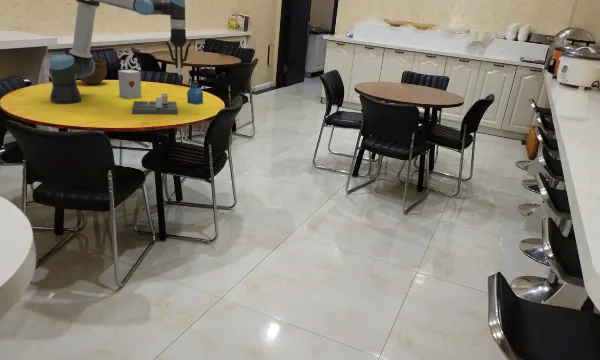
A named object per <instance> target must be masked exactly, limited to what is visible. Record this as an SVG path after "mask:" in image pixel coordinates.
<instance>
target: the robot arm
mask: <svg viewBox="0 0 600 360" xmlns="http://www.w3.org/2000/svg"><path fill="white" fill-rule="evenodd" d="M75 2H76V3H77V8H76V9H77V10H76V19H75V26H74V34H73V43H72V48H71V49H69V51H68V54H61V55H53V56H51V57H50V59H49V69H50V76H51V77H50V78H51V84H52V87H51V92H50V97H49V99H50V102H51V101H52V102H51V103H54V102H55V103H56V104H63V105H65V104H76V103H80V102H82V101H83V99H82V94H81V92H80V89H79V88H78V86H77V85H78V84H77V79H79V78H82V77H87V76H89V75H91V74H92V73H93V72H94V69H95V63H94V61H93V59H94V58H93V54H92V53H91V47H92V39H93V31H94V30H93V29H94V24H95V17H96V9H98V8H99V7H100V3H102V4H105V5H109V6H113V7H116V8H119V9H123V10H128V11H131V12H135V13H138V14H139V15H142V16H152V15H153V16H155V15H156V16H157V15H159V16H160V15H161V16H169V18H170V19H169V22H170V23H169V24H170V27H171V28H170V38H169V39H168V40H167V41H166V42H165V44H166V45H167V48H168V50H169V54H170V59H171V61H172V62H174V63H175V65H174V66H175V69H177V75H178V76H181V75H182V69H183V67H184V62H187V59H188V55H189V50H190V47H191V45H192V43H191V42H190V41H188V39H187V37H186V36H187V35H186V33H187V31H186V29H185V28H186V1H185V0H75ZM171 44H172V45H173V46H174V53H173V49H172V45H171ZM185 44H186V47H185V52H184V51H183V47H184V46H185ZM178 47H179V53H178ZM183 52H184V55H183ZM178 55H179V58H180V59H179V58H178ZM183 56H184V57H183ZM55 103H54V104H55Z"/></svg>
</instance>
